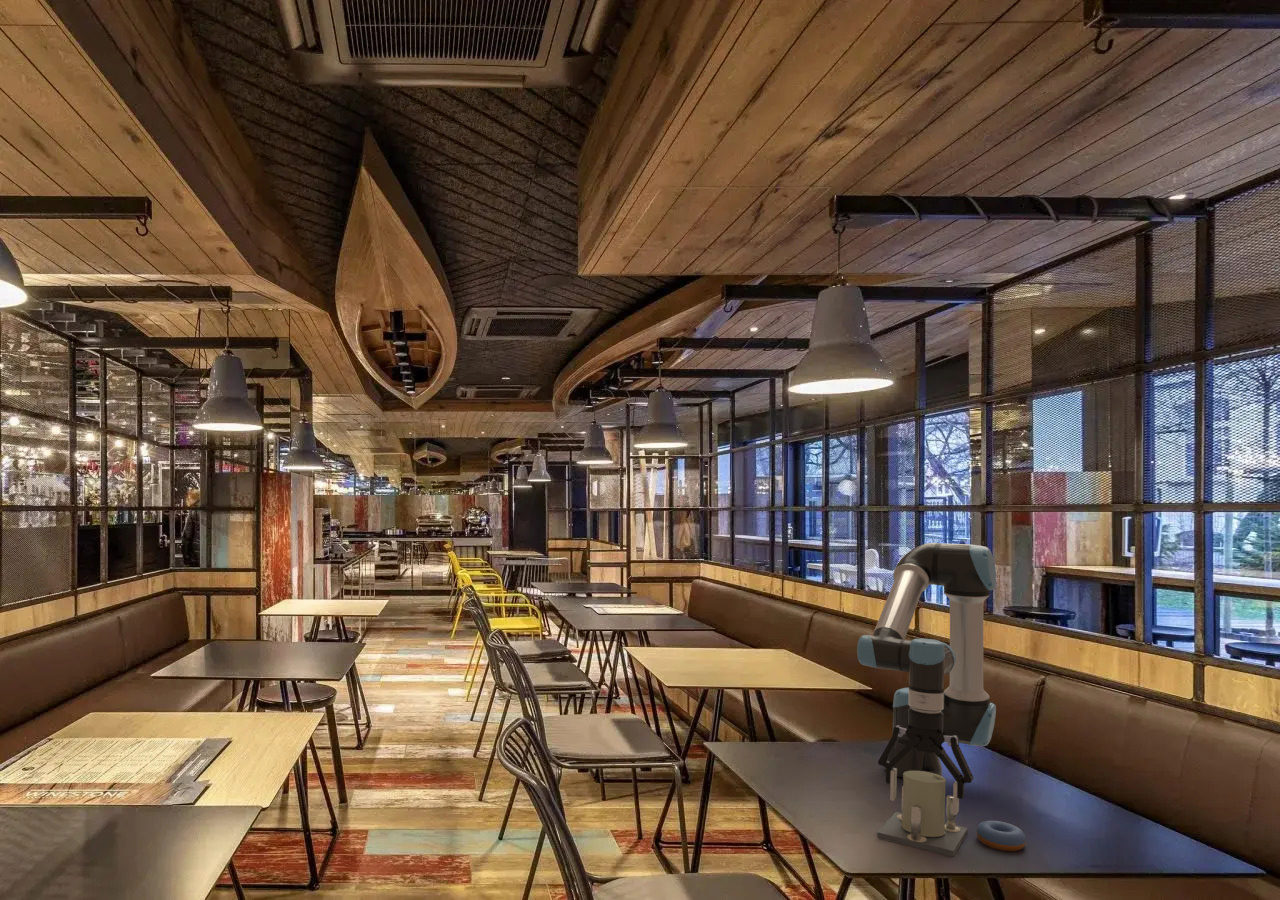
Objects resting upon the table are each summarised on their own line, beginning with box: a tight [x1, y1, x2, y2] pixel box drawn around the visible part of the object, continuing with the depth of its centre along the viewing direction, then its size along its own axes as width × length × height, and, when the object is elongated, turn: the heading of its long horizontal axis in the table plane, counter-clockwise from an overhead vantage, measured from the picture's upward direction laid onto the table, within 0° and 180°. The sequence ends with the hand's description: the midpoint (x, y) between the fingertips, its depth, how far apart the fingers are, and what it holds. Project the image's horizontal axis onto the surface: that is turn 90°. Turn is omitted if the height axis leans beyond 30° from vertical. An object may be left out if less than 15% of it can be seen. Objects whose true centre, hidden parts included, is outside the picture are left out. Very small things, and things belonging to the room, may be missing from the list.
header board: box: [876, 811, 969, 857], centre depth 183 cm, size 16×16×1 cm
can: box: [902, 771, 947, 837], centre depth 184 cm, size 9×9×12 cm
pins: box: [901, 785, 957, 841], centre depth 183 cm, size 14×12×7 cm
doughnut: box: [976, 820, 1026, 852], centre depth 181 cm, size 10×10×5 cm
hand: (923, 805), depth 184 cm, fingers open, 13 cm apart
